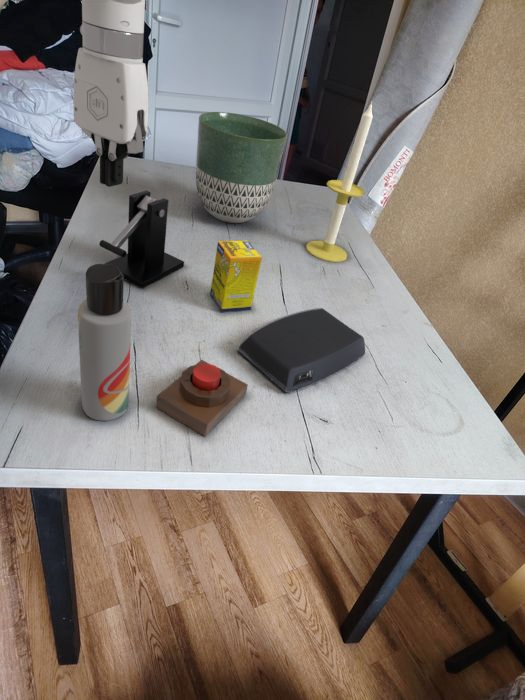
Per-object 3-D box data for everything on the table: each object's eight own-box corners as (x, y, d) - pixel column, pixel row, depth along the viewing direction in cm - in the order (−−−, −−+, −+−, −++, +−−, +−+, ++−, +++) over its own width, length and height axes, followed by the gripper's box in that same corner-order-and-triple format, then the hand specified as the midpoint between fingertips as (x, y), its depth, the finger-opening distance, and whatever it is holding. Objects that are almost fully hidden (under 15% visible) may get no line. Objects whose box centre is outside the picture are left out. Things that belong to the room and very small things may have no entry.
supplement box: (208, 294, 88) (217, 240, 81) (238, 292, 90) (248, 239, 84) (220, 313, 84) (229, 257, 77) (251, 310, 86) (263, 256, 80)
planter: (183, 226, 108) (192, 126, 95) (195, 196, 124) (205, 106, 111) (267, 242, 110) (288, 146, 97) (268, 210, 125) (286, 124, 113)
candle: (352, 252, 115) (402, 106, 96) (338, 266, 107) (389, 111, 88) (315, 237, 118) (356, 92, 98) (299, 250, 110) (340, 95, 91)
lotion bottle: (136, 411, 62) (143, 277, 50) (94, 428, 58) (91, 288, 47) (115, 385, 65) (116, 252, 53) (74, 399, 61) (66, 261, 49)
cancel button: (208, 395, 62) (210, 385, 61) (186, 382, 63) (187, 372, 62) (224, 381, 64) (226, 371, 63) (202, 369, 65) (203, 359, 64)
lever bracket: (142, 288, 85) (146, 215, 77) (104, 269, 87) (103, 196, 79) (183, 266, 94) (191, 199, 86) (147, 249, 96) (151, 182, 88)
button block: (205, 437, 61) (209, 415, 58) (155, 407, 63) (157, 385, 61) (245, 395, 68) (250, 374, 66) (200, 370, 71) (203, 349, 68)
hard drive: (232, 348, 76) (236, 328, 74) (313, 318, 88) (319, 299, 86) (288, 398, 70) (295, 377, 67) (367, 358, 81) (375, 339, 79)
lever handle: (124, 261, 80) (119, 252, 78) (102, 250, 82) (96, 241, 80) (166, 211, 84) (162, 202, 82) (144, 202, 86) (140, 192, 84)
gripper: (48, 28, 62) (56, 171, 72) (138, 57, 57) (132, 205, 68) (92, 32, 67) (93, 164, 78) (177, 59, 63) (166, 195, 74)
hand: (111, 183), depth 73 cm, fingers closed
